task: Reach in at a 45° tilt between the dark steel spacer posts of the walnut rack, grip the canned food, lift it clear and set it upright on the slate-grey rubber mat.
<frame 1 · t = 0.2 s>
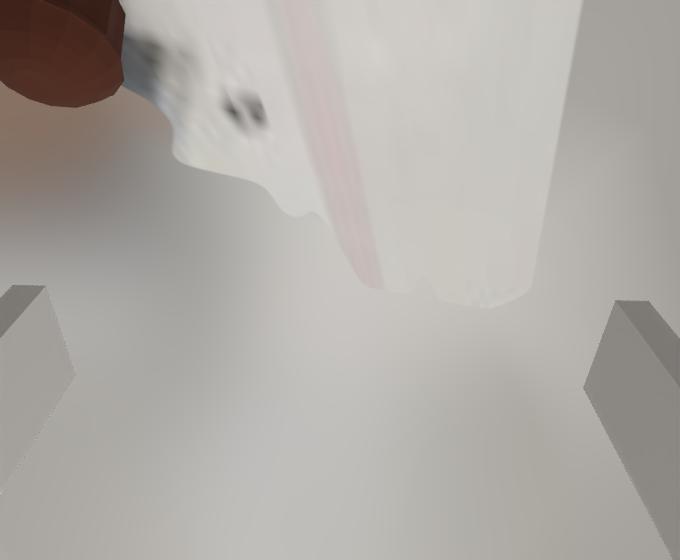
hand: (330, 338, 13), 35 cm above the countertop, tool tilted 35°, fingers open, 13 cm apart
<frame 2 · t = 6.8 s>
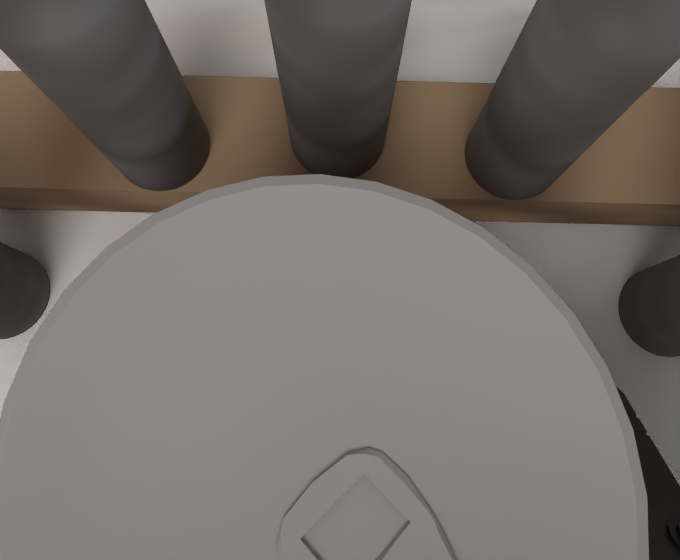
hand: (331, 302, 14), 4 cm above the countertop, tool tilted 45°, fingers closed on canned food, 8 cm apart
canned food: (330, 426, 17), on the countertop, touching gripper
spacer rack: (335, 169, 14), on the countertop
when the fingers open (6 cm above the countertop, at t = 14.3 s): canned food drops 2 cm, resting on mat.
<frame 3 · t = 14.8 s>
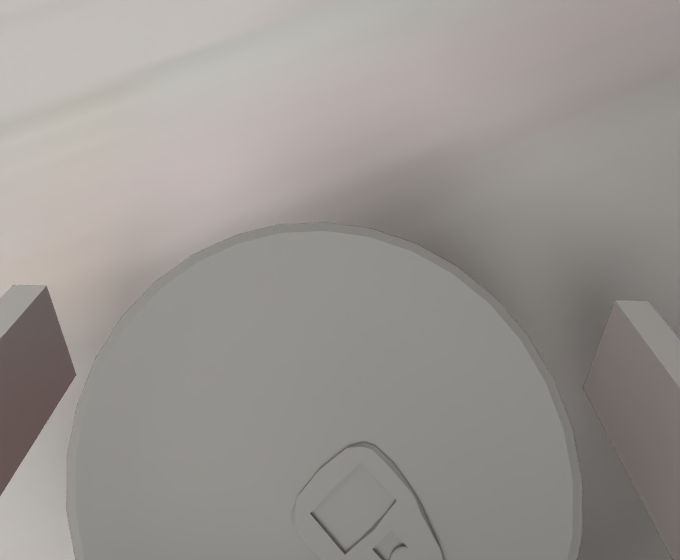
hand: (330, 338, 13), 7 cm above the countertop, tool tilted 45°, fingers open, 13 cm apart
canned food: (331, 426, 19), resting on mat
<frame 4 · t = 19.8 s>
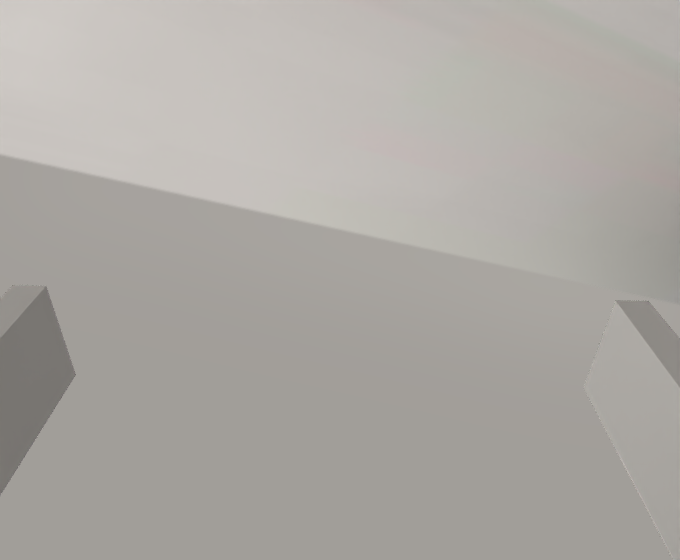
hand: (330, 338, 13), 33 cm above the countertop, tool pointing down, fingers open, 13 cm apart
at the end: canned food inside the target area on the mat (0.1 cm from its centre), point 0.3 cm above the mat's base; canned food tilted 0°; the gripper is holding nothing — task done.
